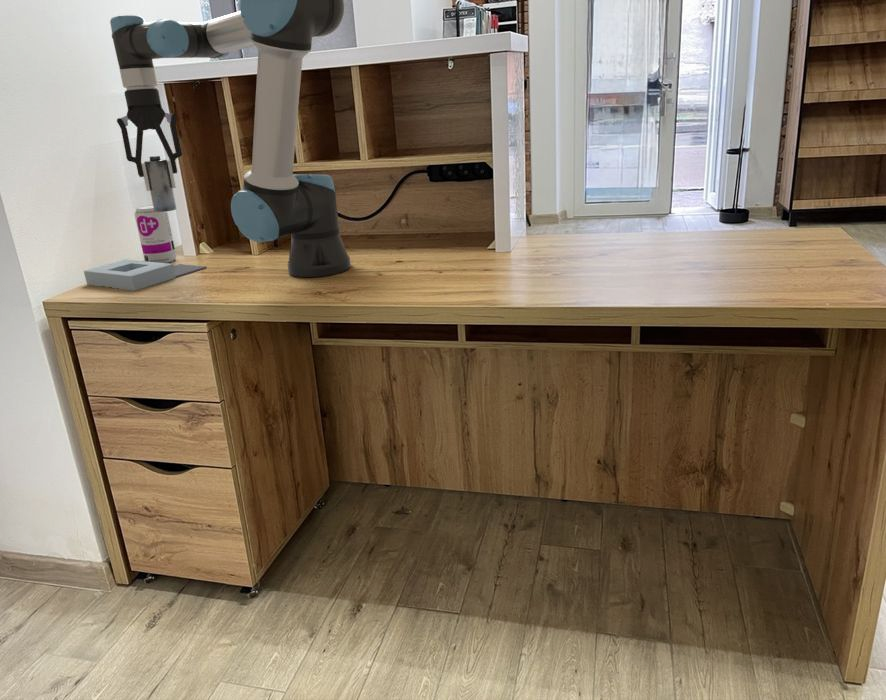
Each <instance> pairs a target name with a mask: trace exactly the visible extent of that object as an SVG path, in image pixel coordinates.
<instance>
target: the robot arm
mask: <svg viewBox="0 0 886 700" xmlns="http://www.w3.org/2000/svg"><path fill="white" fill-rule="evenodd" d="M344 13H345V3H344V0H239V11H236V12H233V13H230V14H226V15H223V16H219V17H216V18H213V19H210V20H207V21H203V22H185V21H183V22H181V21H177V20H174V19H158V20H156V21H155V20H154V21H149V22H146V21H145V18H144V17H143V16H141V15H137V14H136V15H135V14H124V15H115V16H112V17H111V19H110V21H109V23H110V28H111V29H110V30H111V38H112V41H113V46H114V50H115V54H116V55H115V56H116V58H117V64H118V68H119V73H120V79H121V82H122V87H123V88H125V89H126V90H125V92H124V97H125V102H126V107H127V112H126V115H125V116H122V117H118V118H117V119H116V123H117V124H118V126H119V128H120V130H121V135H122V141H123V147H124V150H125V155H126V156H125V157H126V160H127V162H130V163H131V162H132V163H134V164H135V166H136V170H137V174H138V175H137V176H138V177H140V178H143V179H144V183H145V184H144V185H145V189H146V192H150V186H149V181H148V176H147V171H146V166H145V163H144V162H142V155H143V154H142V152H143V141H144V140H143V138H144V131H148V130H155V132H156V133H157V136H158V138H159V140H160V142H161V145H162V146H163V149H164V150H165V153H166V155H167V156H168V159H166V160H167V164H168V169H169V174H170V179H171V184H172V189H177V188H176V187H177V186H176V182H175V176H174V174H178V168H177V163H176V160H177V159H178V158H181V157H182V156H183V151H182V147H181V143H180V139H179V133H178V128H177V119H178V116H177V114H175V113H169V112H165V110H164V109H163V107H162V103H161V102H162V101H161V96H160V92H159V89H157V88H156V87H157V86H158V82H157V77H156V71H155V65H154V63H153V60H155V59H157V60H158V59H187V58H188V59H189V58H190V59H192V58H196V59H197V58H198V59H199V58H202V59H203V58H204V59H205V58H209V59H219V58H225V57H227V56H228V55H229V53H232V52H236V51H239V50H244V49H248V48H252V47H255V48H256V50H257V68H256V69H257V70H256V71H257V72H256V88H255V89H256V90H255V106H254V119H253V120H254V122H253V123H254V124H253V140H252V141H253V144H252V160H251V161H252V162H251V169H249V170H248V171H247V172H246V173H244V175H243V188H242V189H239V190H238V191H237V192H236V193H235V194H234V195H233V196H232V198H231V201H230V211H231V217H232V218H233V219H232V220H233V222H234V223H235V226H237V228H238V230H239V232H241V234H242V235H243V236H244V237H245V238H247V239H248V240H250V241H252V242H255V243H263V242H272V241H276V240H277V239H280V238H282V237H283V238H284V237H287V236H290V238H291V240H290V241H291V243H290V249H289V256H288V261H287V270H288V274H289V275H290V276H293V277H298V278H316V277H317V278H318V277H319V278H320V277H325V276H326V277H327V276H332V275H336V274H337V275H338V274H340V273H343V272H345V271H348V270H349V269H351V266H352V265H351V259H350V255H349V254H348V252H347V249H346V248H345V245H344V242H343V240H342V237H341V233H340V224H339V216H338V215H339V214H338V213H339V212H338V206H337V205H338V204H337V197H336V189H335V184H334V183H335V182H334V180H333V177H332V176H331V175H329V174H325V173H323V174H316V173H315V174H314V173H313V174H311V173H309V174H307V173H301V174H300V173H297V174H295V173H294V163H295V162H294V161H295V152H296V151H295V149H296V136H297V127H298V116H299V115H298V114H299V102H300V91H301V90H300V89H301V79H302V66H303V59H304V57H305V56H307V55H308V54H309V53H310V52H311V51H312V43H313V38H314V37H315V38H316V37H317V38H319V37H324V36H328V35H331V34H332V33H334V32H335V31H336V30H337V29H338V28H339V26H340V24H341V22H342V21H343V17H344ZM164 119H166V121H167V124H169V128H170V134H171V136H172V137H171V138H172V142H173V147H174V152H173V151H172V148H171V146H170V144H169V142H168V139H167V138H166V136H165V133H164V131H163V130H162V127H161V125H162V122H163V120H164ZM129 121H130V122H132V124H133V125H134V126H135V127H136V141H135V142H136V143H135V144H136V145H135V156H133V154H132V149H131V143H130V138H129V134H128V133H129V131H128V129H127V127H128V126H129Z"/></svg>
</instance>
